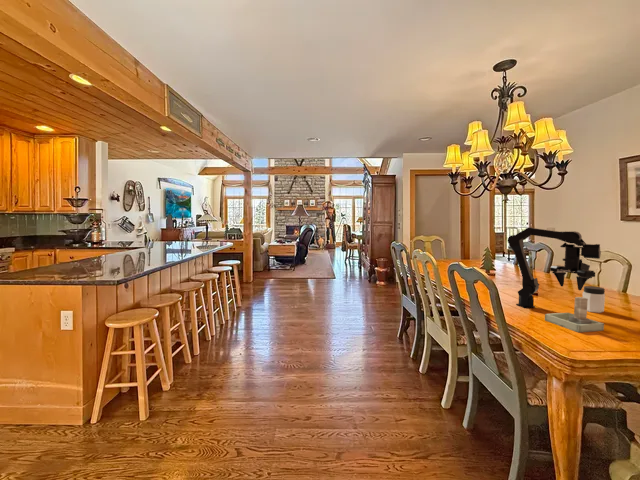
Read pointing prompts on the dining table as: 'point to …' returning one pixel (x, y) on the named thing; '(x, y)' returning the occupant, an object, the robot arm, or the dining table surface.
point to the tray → (563, 321)
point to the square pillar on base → (580, 312)
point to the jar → (594, 298)
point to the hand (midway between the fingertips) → (570, 288)
